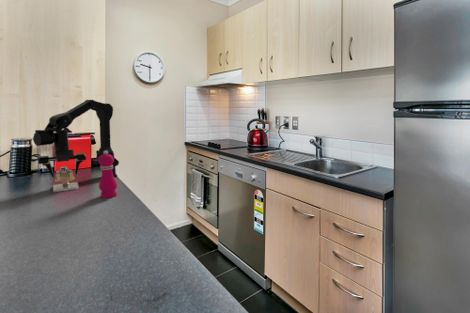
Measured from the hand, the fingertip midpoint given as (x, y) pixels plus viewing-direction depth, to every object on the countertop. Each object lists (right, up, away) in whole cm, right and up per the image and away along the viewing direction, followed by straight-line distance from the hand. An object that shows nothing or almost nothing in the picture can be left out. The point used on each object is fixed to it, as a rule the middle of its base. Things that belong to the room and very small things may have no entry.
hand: (64, 176), depth 131 cm
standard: (0, -6, +1) cm, 6 cm away
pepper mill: (+25, -8, -10) cm, 28 cm away
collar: (0, -1, 0) cm, 1 cm away
